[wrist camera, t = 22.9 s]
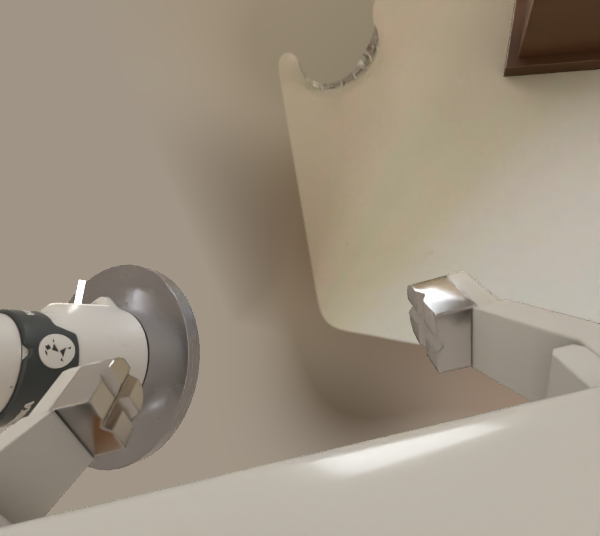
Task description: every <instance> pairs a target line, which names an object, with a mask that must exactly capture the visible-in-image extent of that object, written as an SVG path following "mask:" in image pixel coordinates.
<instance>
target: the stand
mask: <svg viewBox="0 0 600 536" xmlns="http://www.w3.org/2000/svg"><path fill="white" fill-rule="evenodd" d="M591 69H600V0H515V5H514V11H513V18H512V24H511V31H510V37H509V44H508V51H507V57H506V64H505V70H504V76H515V75H527V74H540V73H553V72H566V71H578V70H591Z"/></svg>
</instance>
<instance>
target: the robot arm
mask: <svg viewBox="0 0 600 536" xmlns="http://www.w3.org/2000/svg"><path fill="white" fill-rule="evenodd" d="M84 286H85V281H83V280H79V283H78V288H77V293H76V298H75V303H51V304H49V305H48V306H47V307H45V308H43V309H42V310H40V312H37V311H28V310H22V309H11V310H0V427H5V426H9V425H12V424H13V425H12V426H11V427H9V428H8V429H6V430H5V431H4V432H2V433H1V434H0V536H600V323H596V322H592V321H589V320H585V319H581V318H577V317H573V316H569V315H565V314H562V313H558V312H554V311H550V310H546V309H542V308H538V307H535V306H531V305H527V304H523V303H519V302H515V301H511V300H507V299H505V300H501V301H500V300H499V299H498V298H497V297H495V296H494V295H493V294H492V293H491V292H489V291H488V290H487V289H486V288H485V287H483V286H482V285H481V284H480V283H479V282H477V281H476V280H475V279H474V278H473V277H471V276H470V275H469V274H468V273H467V272H465V271H459V272H455V273H452V274H448V275H445V276H442V277H439V278H435V279H431V280H427V281H424V282H420V283H416V284H413V285H409V286H408V288H407V295H408V300H409V301H410V302H411V304H412V305H413V307H412V308H411V310H410V312H409V314H410V321H411V325H412V328H413V332H414V334H415V336H416V338H417V340H418V341H419V343H420V344H421V345H423V346H425V347H427V356H428V357H429V359H430V361H431V362H432V363H433V365H434V367H435V368H436V370H437V371H438V373H444V372H448V371H453V370H458V369H462V368H467V367H472V368H473V369H475V370H477V371H479V372H480V373H482V374H484V375H486V376H487V377H489V378H491V379H493V380H494V381H496V382H498V383H500V384H502V385H503V386H505V387H507V388H509V389H510V390H512V391H514V392H516V393H518V394H519V395H521V396H523V397H524V398H526V399H528V400H530V401H531V402H529V403H525V404H521V405H516V406H512V407H508V408H504V409H499V410H495V411H491V412H487V413H483V414H478V415H474V416H470V417H466V418H462V419H458V420H454V421H449V422H445V423H441V424H436V425H432V426H428V427H424V428H420V429H415V430H411V431H407V432H403V433H398V434H394V435H390V436H385V437H381V438H377V439H373V440H368V441H364V442H360V443H356V444H351V445H347V446H343V447H338V448H335V449H330V450H326V451H321V452H317V453H313V454H309V455H304V456H300V457H296V458H292V459H287V460H283V461H279V462H275V463H270V464H266V465H262V466H258V467H254V468H249V469H245V470H241V471H237V472H233V473H228V474H224V475H220V476H215V477H211V478H208V479H203V480H198V481H195V482H190V483H186V484H182V485H178V486H173V487H169V488H165V489H160V490H156V491H152V492H148V493H144V494H140V495H135V496H131V497H127V498H122V499H118V500H114V501H110V502H105V503H101V504H97V505H93V506H88V507H84V508H80V509H76V510H72V511H68V512H63V513H59V514H55V515H51V516H46V517H45V515H46V514H47V513H48V512H49V511H50V510H51V508H52V507H53V506H54V505H55V504H56V503H57V501H58V500H59V499H60V498H61V497H62V496H63V494H64V493H65V492H66V491H67V490H68V489H69V487H70V486H71V485H72V484H73V483H74V482H75V480H76V479H77V478H78V477H79V476H80V475H81V473H82V472H83V471H84V470H85V469H86V468H87V467H88V465H89V464H90V463H91V462H92V461H93V460H94V458H93V457H97V456H101V455H104V454H108V453H112V452H116V451H119V450H123V449H125V448H126V445H127V443H128V441H129V438H130V436H131V434H132V431H133V429H134V424H133V422H132V420H133V419H134V418H135V417H136V416H137V415H138V414H139V413H140V412H141V409H142V407H143V404H144V391H143V388H142V384H143V381H144V378H145V374H146V370H147V363H148V346H147V340H146V336H145V333H144V330H143V328H142V326H141V324H140V323H139V321H138V320H137V319H136V318H135V317H134V316H133V315H132V314H130V313H129V312H127V311H124V310H122V309H120V308H118V307H117V306H116V304H115V303H114V302H113V301H112V299H111V298H109V297H99V298H97V299H96V300H95V301H93V302H92V303H91V304H81V301H82V296H83V291H84Z"/></svg>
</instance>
